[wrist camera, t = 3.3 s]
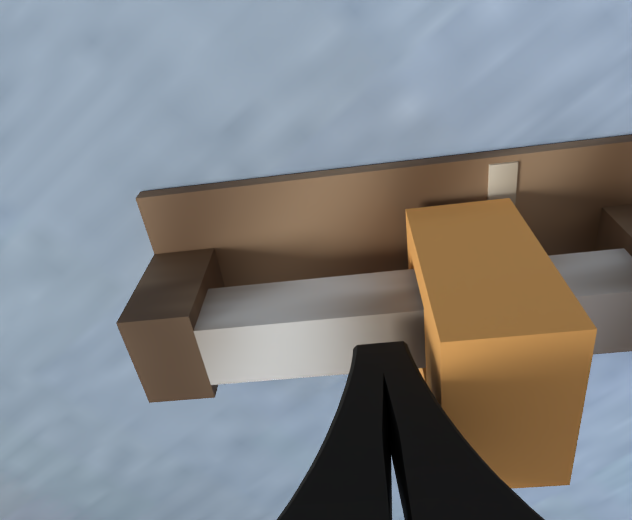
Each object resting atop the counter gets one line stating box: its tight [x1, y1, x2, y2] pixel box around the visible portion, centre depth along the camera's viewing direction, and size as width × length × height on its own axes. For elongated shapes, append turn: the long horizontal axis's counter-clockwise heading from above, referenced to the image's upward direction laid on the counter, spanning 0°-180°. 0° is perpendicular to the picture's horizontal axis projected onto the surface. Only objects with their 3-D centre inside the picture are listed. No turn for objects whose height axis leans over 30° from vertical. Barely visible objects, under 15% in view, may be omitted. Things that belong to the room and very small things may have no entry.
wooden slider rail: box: [117, 135, 632, 403], centre depth 16 cm, size 16×7×4 cm, turn 98°
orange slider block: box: [405, 198, 597, 488], centre depth 14 cm, size 3×5×6 cm, turn 8°
